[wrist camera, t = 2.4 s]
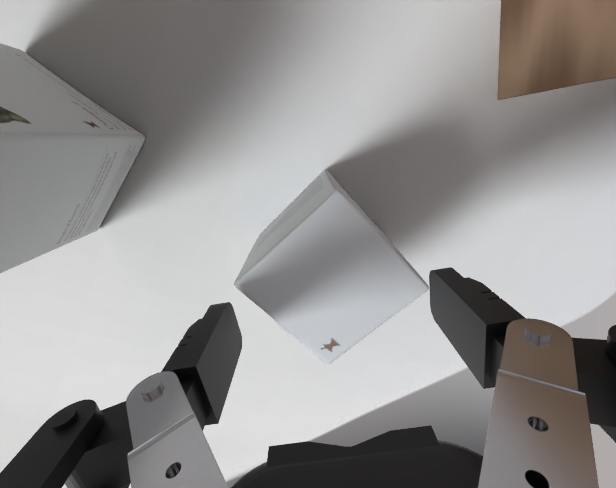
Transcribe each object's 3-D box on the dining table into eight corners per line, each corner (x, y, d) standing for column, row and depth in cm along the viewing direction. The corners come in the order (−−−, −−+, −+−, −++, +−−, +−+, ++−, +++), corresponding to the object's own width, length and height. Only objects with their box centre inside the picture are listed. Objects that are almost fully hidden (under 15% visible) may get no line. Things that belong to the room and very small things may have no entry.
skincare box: (388, 235, 19) (435, 291, 12) (320, 291, 20) (327, 370, 13) (325, 166, 17) (338, 185, 10) (256, 232, 19) (228, 288, 12)
